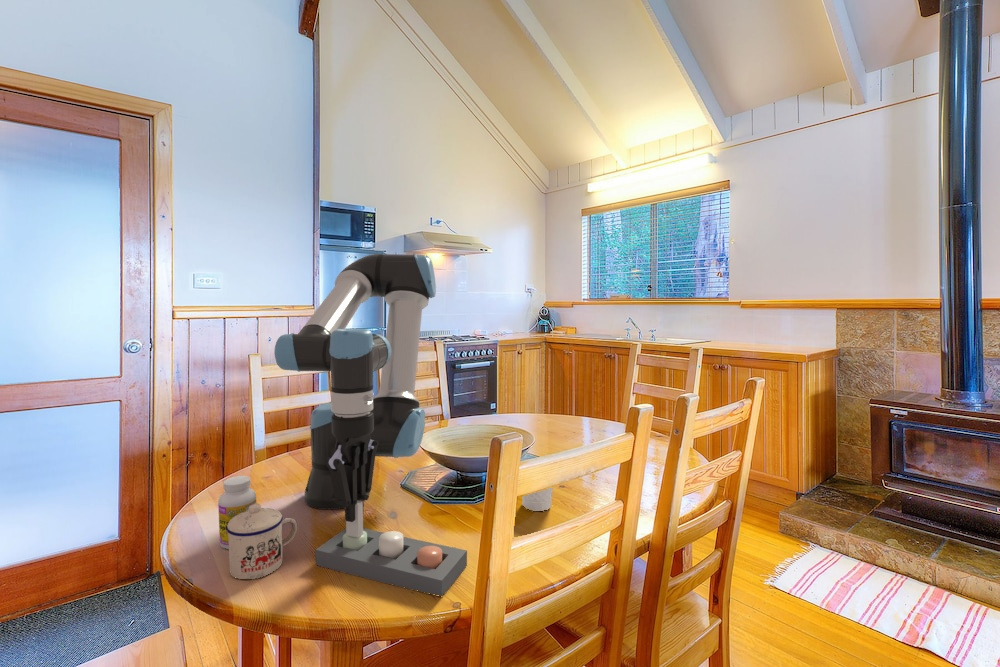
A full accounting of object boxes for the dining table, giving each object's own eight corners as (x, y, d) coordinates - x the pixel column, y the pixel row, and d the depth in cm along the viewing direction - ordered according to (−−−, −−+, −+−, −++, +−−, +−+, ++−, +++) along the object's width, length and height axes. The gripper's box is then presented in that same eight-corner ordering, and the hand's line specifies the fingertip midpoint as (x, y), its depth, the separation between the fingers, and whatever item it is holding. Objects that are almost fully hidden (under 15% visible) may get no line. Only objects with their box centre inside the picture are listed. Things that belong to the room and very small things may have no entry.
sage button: (338, 556, 91) (337, 538, 91) (353, 545, 95) (352, 528, 95) (357, 561, 89) (357, 543, 89) (371, 549, 94) (371, 532, 93)
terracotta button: (412, 574, 85) (412, 556, 85) (425, 561, 90) (424, 543, 89) (434, 580, 84) (434, 561, 84) (446, 566, 88) (446, 548, 88)
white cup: (551, 515, 110) (552, 472, 110) (517, 511, 112) (518, 469, 111) (554, 500, 118) (555, 460, 117) (522, 497, 120) (523, 458, 119)
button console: (315, 565, 89) (315, 549, 89) (350, 539, 99) (350, 525, 98) (441, 597, 80) (441, 580, 80) (466, 565, 90) (467, 550, 89)
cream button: (374, 559, 88) (373, 540, 88) (387, 547, 92) (387, 529, 92) (395, 564, 87) (394, 545, 86) (408, 551, 91) (407, 533, 90)
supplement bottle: (211, 548, 95) (208, 484, 94) (237, 532, 101) (234, 472, 100) (241, 553, 93) (238, 488, 92) (265, 536, 100) (262, 475, 99)
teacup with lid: (239, 588, 82) (236, 522, 81) (221, 567, 89) (218, 505, 87) (307, 560, 91) (306, 500, 90) (287, 542, 97) (285, 486, 96)
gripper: (346, 423, 82) (349, 556, 84) (389, 406, 95) (391, 523, 97) (311, 418, 85) (314, 547, 87) (357, 403, 97) (359, 516, 99)
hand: (354, 534), depth 92 cm, fingers closed
